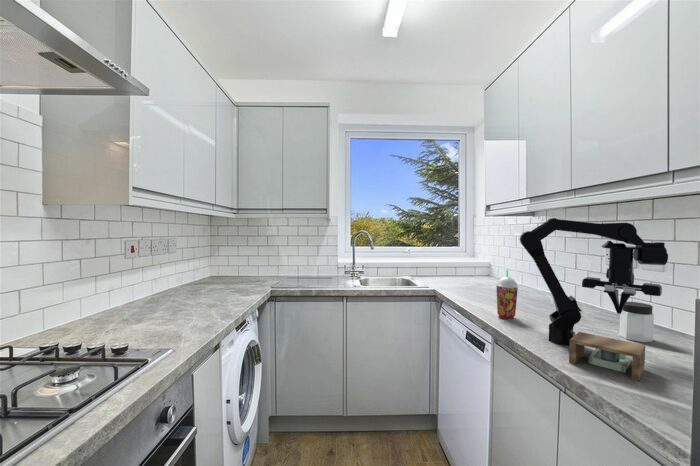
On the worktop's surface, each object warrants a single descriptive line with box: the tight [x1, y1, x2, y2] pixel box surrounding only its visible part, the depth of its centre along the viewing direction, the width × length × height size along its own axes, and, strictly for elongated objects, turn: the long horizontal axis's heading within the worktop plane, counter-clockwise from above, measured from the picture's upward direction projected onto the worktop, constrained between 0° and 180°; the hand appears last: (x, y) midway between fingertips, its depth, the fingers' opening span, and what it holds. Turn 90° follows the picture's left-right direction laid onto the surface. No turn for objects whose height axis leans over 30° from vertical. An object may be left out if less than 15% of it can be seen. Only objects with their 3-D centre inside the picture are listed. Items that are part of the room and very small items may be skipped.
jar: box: [619, 301, 655, 343], centre depth 117 cm, size 9×8×12 cm
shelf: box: [568, 331, 646, 382], centre depth 92 cm, size 15×10×7 cm, turn 43°
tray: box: [588, 348, 632, 374], centre depth 95 cm, size 8×12×3 cm, turn 134°
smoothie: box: [495, 270, 519, 320], centre depth 142 cm, size 8×8×20 cm
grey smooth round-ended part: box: [601, 350, 617, 362], centre depth 93 cm, size 3×3×4 cm
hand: (619, 313), depth 104 cm, fingers closed
